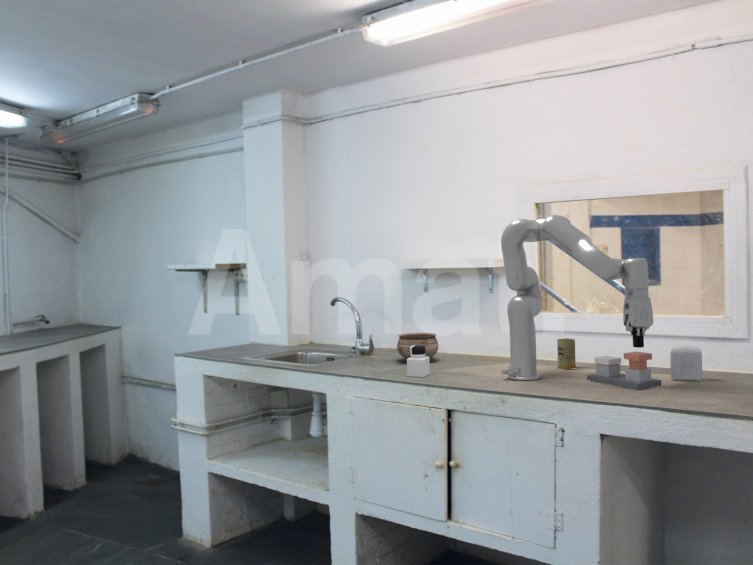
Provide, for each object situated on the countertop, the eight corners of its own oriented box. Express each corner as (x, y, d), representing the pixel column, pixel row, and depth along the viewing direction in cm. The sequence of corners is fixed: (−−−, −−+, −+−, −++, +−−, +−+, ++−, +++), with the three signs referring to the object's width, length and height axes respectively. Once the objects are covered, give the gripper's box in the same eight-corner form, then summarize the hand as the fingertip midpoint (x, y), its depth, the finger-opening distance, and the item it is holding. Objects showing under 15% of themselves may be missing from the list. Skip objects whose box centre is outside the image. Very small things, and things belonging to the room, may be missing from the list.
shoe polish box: (568, 367, 257) (567, 338, 257) (575, 369, 253) (574, 339, 252) (557, 368, 256) (557, 339, 256) (565, 370, 251) (564, 340, 251)
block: (637, 390, 208) (636, 372, 208) (586, 380, 228) (586, 364, 228) (661, 385, 214) (661, 368, 214) (610, 376, 234) (609, 360, 233)
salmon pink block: (639, 372, 211) (639, 355, 211) (623, 370, 216) (623, 353, 216) (652, 370, 214) (651, 353, 214) (636, 368, 219) (636, 351, 219)
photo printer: (701, 379, 224) (700, 344, 224) (703, 381, 220) (702, 346, 219) (669, 378, 227) (669, 344, 227) (671, 380, 223) (670, 346, 223)
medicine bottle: (430, 374, 251) (429, 344, 251) (423, 377, 245) (422, 347, 244) (413, 373, 254) (412, 344, 254) (406, 376, 248) (406, 346, 247)
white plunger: (608, 376, 222) (608, 359, 222) (595, 374, 228) (594, 357, 228) (621, 374, 225) (621, 358, 225) (607, 372, 231) (607, 356, 231)
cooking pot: (418, 356, 301) (417, 331, 301) (450, 359, 289) (450, 333, 288) (384, 363, 282) (383, 336, 282) (417, 367, 270) (417, 338, 270)
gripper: (630, 295, 208) (632, 350, 208) (660, 292, 215) (662, 346, 215) (612, 295, 214) (614, 348, 215) (642, 292, 221) (644, 344, 222)
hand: (638, 347), depth 215 cm, fingers closed
